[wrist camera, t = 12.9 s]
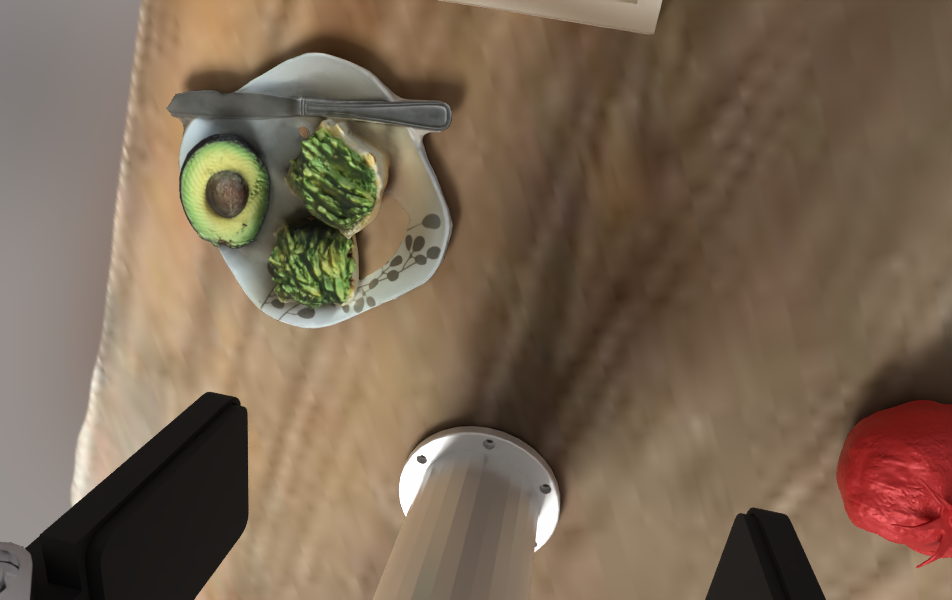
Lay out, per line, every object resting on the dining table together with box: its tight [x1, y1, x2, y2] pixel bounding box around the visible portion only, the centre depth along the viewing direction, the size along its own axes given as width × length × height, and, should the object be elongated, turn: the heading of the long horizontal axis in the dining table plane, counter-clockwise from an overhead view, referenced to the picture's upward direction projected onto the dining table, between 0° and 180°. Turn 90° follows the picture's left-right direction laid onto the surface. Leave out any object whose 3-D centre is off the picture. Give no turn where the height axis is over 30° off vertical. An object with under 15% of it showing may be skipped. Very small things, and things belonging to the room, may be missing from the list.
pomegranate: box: [837, 400, 952, 568], centre depth 37 cm, size 10×10×9 cm
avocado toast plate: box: [167, 53, 453, 329], centre depth 39 cm, size 19×18×5 cm
